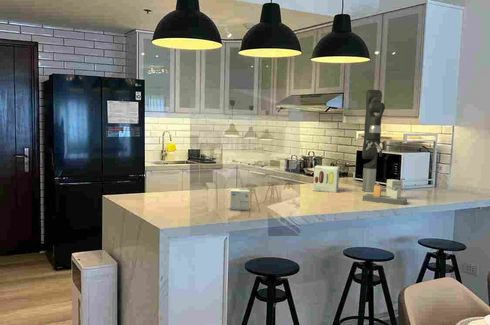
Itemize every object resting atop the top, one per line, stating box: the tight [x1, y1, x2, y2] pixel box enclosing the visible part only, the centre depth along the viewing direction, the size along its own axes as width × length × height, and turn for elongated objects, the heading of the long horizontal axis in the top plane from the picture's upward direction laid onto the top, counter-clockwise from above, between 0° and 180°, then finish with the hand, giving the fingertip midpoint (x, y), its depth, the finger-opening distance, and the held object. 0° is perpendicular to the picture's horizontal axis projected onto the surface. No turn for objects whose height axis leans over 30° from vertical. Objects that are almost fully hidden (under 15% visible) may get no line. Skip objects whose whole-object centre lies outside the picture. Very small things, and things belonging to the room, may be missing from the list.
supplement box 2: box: [385, 178, 402, 197], centre depth 332 cm, size 7×7×13 cm
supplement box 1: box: [312, 164, 340, 194], centre depth 356 cm, size 17×13×18 cm
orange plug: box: [373, 182, 383, 197], centre depth 319 cm, size 4×4×12 cm
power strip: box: [362, 187, 408, 206], centre depth 316 cm, size 12×26×10 cm, turn 60°
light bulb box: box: [229, 188, 250, 211], centre depth 274 cm, size 11×7×11 cm, turn 92°
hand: (373, 155), depth 328 cm, fingers open, 8 cm apart
